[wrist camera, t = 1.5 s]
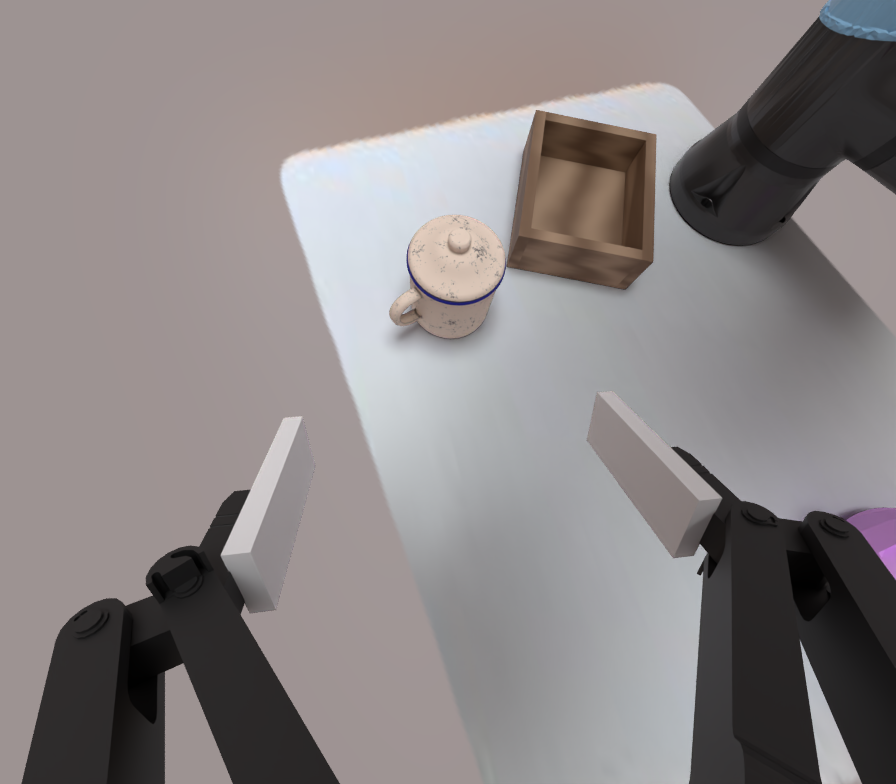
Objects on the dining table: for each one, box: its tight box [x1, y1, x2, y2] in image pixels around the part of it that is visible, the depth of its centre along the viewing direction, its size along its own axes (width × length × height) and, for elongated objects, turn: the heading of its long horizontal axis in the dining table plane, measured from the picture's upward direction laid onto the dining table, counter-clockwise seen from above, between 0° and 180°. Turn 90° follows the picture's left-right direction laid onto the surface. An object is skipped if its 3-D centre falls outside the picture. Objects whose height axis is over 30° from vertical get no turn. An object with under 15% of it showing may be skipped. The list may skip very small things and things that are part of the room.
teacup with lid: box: [389, 215, 506, 338], centre depth 36 cm, size 12×9×12 cm
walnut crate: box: [507, 110, 656, 289], centre depth 43 cm, size 14×17×6 cm
